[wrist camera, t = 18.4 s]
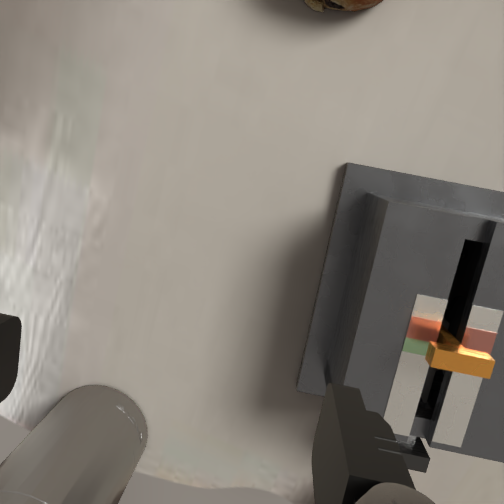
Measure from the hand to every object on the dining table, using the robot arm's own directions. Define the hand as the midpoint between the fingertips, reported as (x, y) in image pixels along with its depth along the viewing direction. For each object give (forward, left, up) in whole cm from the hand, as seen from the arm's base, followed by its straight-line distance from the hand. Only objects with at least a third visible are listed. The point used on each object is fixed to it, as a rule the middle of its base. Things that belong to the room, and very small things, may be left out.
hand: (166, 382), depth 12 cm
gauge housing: (+9, -12, -28) cm, 32 cm away
